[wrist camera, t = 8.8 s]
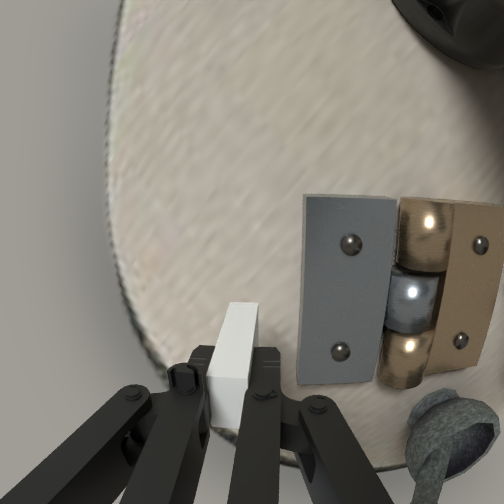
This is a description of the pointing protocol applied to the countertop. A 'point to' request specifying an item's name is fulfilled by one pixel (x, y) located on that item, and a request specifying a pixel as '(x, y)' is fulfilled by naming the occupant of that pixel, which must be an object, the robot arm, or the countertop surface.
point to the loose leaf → (353, 288)
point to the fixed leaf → (446, 285)
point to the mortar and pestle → (446, 440)
